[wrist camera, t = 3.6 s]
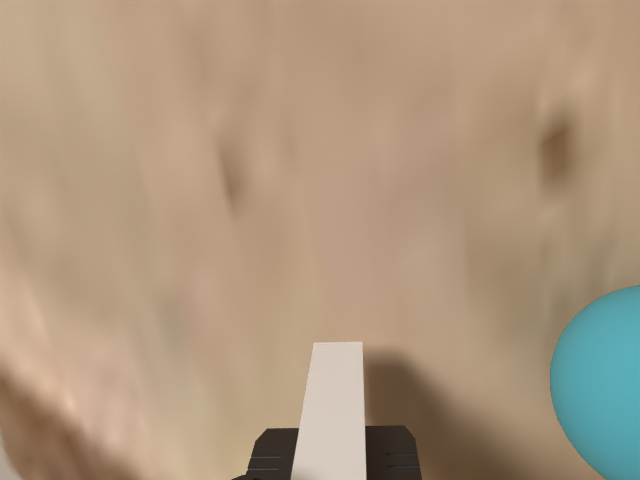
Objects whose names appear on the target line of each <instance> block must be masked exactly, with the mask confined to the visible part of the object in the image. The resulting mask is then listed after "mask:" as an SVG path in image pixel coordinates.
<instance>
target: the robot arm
mask: <svg viewBox="0 0 640 480" xmlns="http://www.w3.org/2000/svg"><path fill="white" fill-rule="evenodd" d="M232 480H422V476H421V471H420V465H419V459H418V455H417V448H416V442H415V438H414V437H413V436H412V434H411V433H410V432H409V431H408V429H407V428H406V427H405V426H366V420H365V396H364V372H363V347H362V342H328V343H314V346H313V352H312V357H311V363H310V369H309V375H308V381H307V387H306V392H305V398H304V404H303V410H302V416H301V421H300V427H299V428H275V429H266V430H265V432H264V433H263V434H262V435H261V436H260V437H259V438H258V439H257V440H256V442H255V445H254V448H253V452H252V455H251V459H250V462H249V465H248V471H247V472H246V475H241V476H239V477H237V478H234V479H232Z"/></svg>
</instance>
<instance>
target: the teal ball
mask: <svg viewBox="0 0 640 480" xmlns="http://www.w3.org/2000/svg"><path fill="white" fill-rule="evenodd" d="M550 391H551V396H552V402H553V405H554V409H555V412H556V415H557V418H558V420H559V422H560V424H561V426H562V428H563V430H564V432H565V434H566V436H567V438H568V439H569V441H570V442H571V444H572V445H573V446H574V448H575V449H576V450H577V452H578V453H579V454H580V455H581V457H582V458H583V459H584V460H585V461H586V462H587V463H588V464H589V465H590V466H591V467H592V468H593V469H595V470H596V471H597V472H598V473H599V474H600V475H602V476H603V477H604V478H606V479H607V480H640V285H638V286H633V287H628V288H624V289H621V290H618V291H615V292H612V293H609V294H607V295H605V296H603V297H601V298H599V299H597V300H596V301H594V302H592V303H591V304H589V305H588V306H587V307H585V308H584V309H583V310H582V311H580V312H579V313H578V314H577V315H576V316H575V317H574V318H573V319H572V321H571V322H570V323H569V324H568V326H567V327H566V328H565V330H564V332H563V333H562V335H561V336H560V338H559V341H558V343H557V345H556V348H555V351H554V354H553V358H552V362H551V369H550Z"/></svg>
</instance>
